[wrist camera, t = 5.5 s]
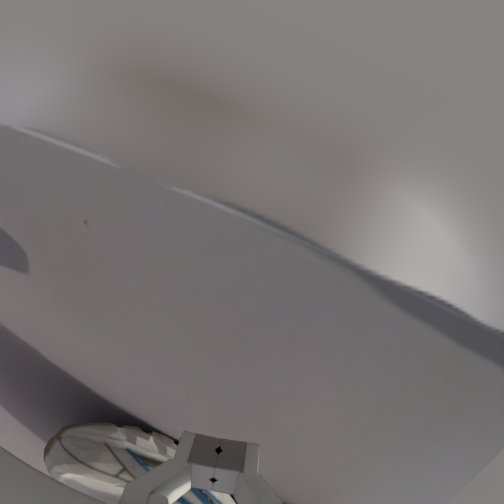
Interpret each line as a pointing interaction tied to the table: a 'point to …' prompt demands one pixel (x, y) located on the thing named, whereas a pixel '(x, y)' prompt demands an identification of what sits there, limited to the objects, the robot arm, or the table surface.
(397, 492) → the table surface
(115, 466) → the athletic shoe
